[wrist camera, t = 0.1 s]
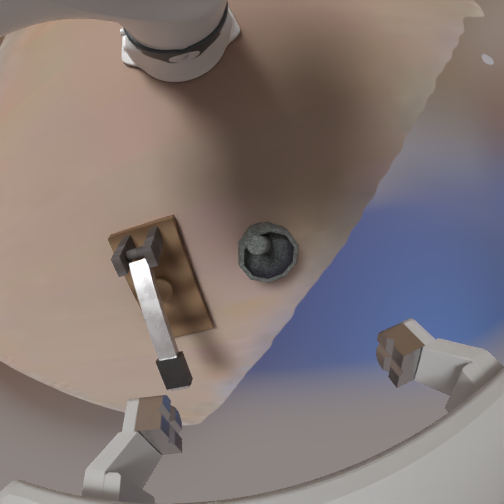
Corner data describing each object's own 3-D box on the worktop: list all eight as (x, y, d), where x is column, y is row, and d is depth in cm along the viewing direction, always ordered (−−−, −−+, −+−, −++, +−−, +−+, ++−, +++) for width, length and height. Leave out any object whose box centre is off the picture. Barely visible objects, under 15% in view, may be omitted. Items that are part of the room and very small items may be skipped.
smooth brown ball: (145, 276, 47) (142, 290, 43) (168, 270, 47) (166, 284, 43) (154, 296, 49) (152, 310, 45) (176, 290, 49) (175, 305, 45)
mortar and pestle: (294, 242, 52) (319, 275, 41) (254, 271, 53) (269, 310, 42) (261, 196, 47) (282, 220, 36) (217, 228, 48) (224, 261, 37)
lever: (130, 264, 41) (125, 264, 38) (153, 257, 41) (148, 257, 38) (171, 385, 41) (168, 392, 38) (193, 381, 41) (191, 388, 38)
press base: (110, 234, 44) (93, 261, 35) (173, 214, 45) (168, 238, 36) (159, 334, 55) (156, 369, 47) (212, 321, 56) (216, 356, 48)
